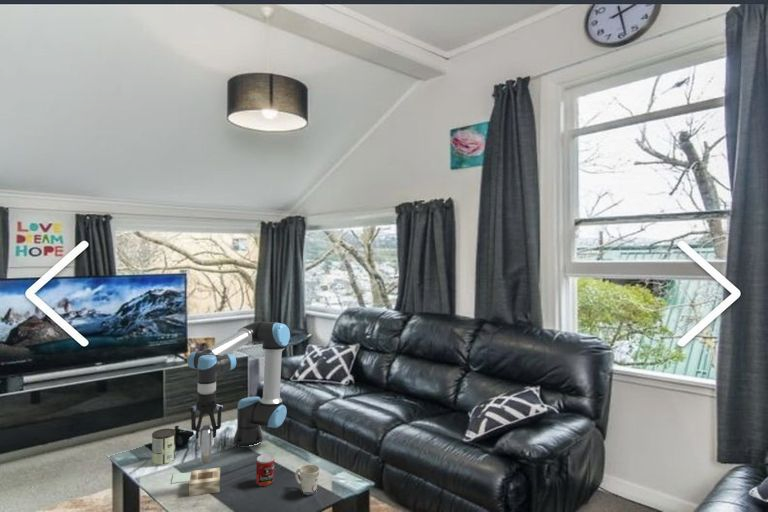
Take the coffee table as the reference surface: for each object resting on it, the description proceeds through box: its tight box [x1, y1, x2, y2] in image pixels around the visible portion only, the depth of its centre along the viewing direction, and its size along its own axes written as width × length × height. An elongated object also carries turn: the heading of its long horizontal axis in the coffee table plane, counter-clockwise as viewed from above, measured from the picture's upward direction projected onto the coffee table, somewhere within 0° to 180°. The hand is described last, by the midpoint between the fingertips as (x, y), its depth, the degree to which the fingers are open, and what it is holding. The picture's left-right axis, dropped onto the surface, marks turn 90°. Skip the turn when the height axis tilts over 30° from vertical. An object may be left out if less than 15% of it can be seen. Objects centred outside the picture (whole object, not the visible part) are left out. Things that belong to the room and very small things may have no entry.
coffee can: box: [151, 427, 176, 467], centre depth 225 cm, size 10×10×14 cm
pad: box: [171, 471, 191, 485], centre depth 210 cm, size 8×8×1 cm
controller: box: [173, 425, 195, 448], centre depth 243 cm, size 4×12×10 cm, turn 77°
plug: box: [200, 424, 213, 464], centre depth 202 cm, size 4×4×15 cm
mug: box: [294, 464, 320, 492], centre depth 201 cm, size 8×13×10 cm, turn 58°
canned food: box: [255, 453, 275, 487], centre depth 208 cm, size 8×8×11 cm
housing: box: [188, 467, 221, 497], centre depth 202 cm, size 12×12×5 cm
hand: (206, 445), depth 202 cm, fingers closed on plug, 4 cm apart
